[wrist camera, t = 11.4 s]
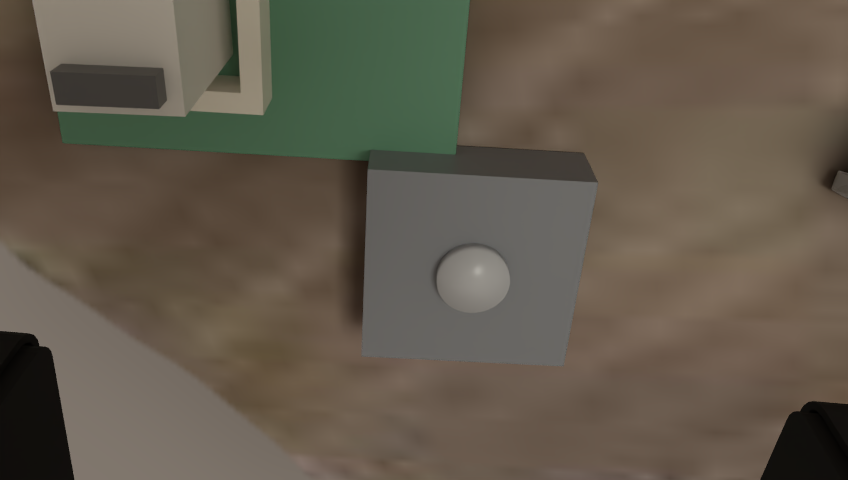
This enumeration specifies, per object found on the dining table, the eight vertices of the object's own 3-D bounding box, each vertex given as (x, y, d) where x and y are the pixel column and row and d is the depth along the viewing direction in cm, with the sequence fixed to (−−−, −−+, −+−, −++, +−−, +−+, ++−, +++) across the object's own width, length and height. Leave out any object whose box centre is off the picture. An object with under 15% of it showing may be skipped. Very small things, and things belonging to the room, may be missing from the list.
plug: (112, -62, 28) (14, -20, 21) (225, -56, 28) (162, -13, 21) (128, 49, 30) (41, 120, 23) (233, 54, 30) (178, 125, 23)
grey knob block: (371, 140, 33) (366, 175, 30) (583, 153, 33) (601, 188, 30) (365, 317, 37) (360, 364, 34) (553, 327, 38) (565, 374, 34)
